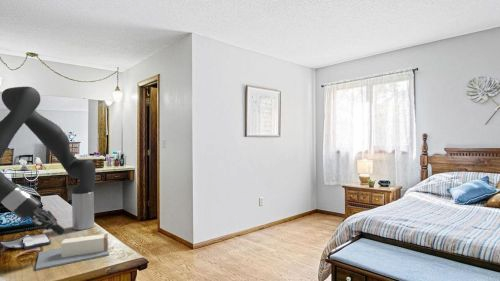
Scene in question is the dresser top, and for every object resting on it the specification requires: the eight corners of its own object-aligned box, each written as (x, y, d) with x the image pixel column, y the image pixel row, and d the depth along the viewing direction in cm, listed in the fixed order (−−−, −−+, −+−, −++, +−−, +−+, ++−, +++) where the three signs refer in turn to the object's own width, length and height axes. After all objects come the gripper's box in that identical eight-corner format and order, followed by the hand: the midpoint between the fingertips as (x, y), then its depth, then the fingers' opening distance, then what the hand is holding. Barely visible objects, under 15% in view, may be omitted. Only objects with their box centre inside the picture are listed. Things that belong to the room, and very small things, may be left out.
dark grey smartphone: (21, 241, 127) (24, 251, 115) (21, 237, 127) (24, 247, 115) (45, 236, 132) (51, 245, 121) (45, 233, 132) (51, 241, 121)
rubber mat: (39, 253, 111) (39, 251, 111) (103, 241, 123) (103, 240, 123) (35, 270, 97) (35, 268, 97) (108, 255, 109) (108, 253, 109)
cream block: (61, 243, 106) (107, 237, 111) (64, 239, 110) (108, 233, 116) (61, 257, 106) (107, 250, 111) (64, 252, 110) (108, 246, 116)
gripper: (24, 198, 98) (67, 229, 103) (36, 191, 110) (74, 219, 115) (5, 215, 96) (50, 247, 101) (19, 207, 108) (58, 235, 113)
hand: (62, 232), depth 108 cm, fingers closed
